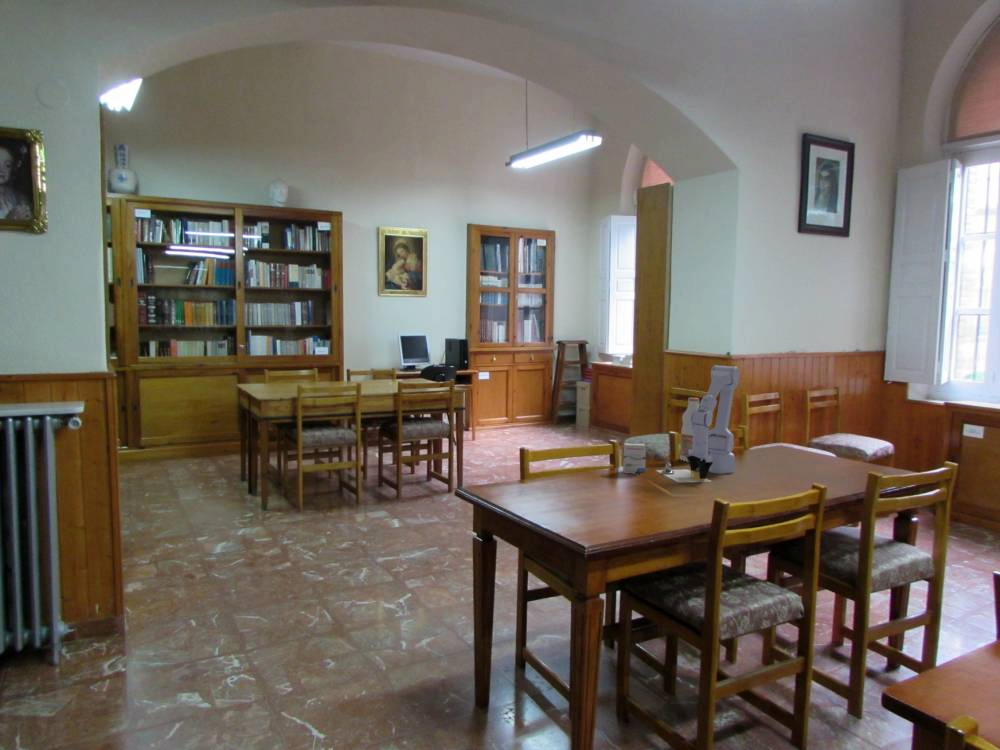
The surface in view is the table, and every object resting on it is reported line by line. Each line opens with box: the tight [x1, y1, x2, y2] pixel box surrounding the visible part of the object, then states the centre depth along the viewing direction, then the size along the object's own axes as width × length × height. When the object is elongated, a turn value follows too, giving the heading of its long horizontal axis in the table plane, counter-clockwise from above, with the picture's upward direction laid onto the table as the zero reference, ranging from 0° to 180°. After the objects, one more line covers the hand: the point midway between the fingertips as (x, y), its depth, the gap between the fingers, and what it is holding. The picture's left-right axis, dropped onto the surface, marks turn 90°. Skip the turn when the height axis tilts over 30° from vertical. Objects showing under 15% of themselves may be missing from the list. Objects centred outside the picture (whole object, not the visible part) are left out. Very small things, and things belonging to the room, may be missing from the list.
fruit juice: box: [679, 396, 702, 463], centre depth 294 cm, size 9×9×28 cm
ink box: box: [622, 442, 647, 475], centre depth 269 cm, size 8×5×12 cm, turn 84°
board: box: [655, 468, 713, 483], centre depth 262 cm, size 14×20×5 cm
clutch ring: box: [690, 469, 708, 480], centre depth 258 cm, size 6×6×3 cm
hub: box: [662, 461, 674, 475], centre depth 266 cm, size 5×5×4 cm
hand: (698, 476), depth 258 cm, fingers open, 6 cm apart
